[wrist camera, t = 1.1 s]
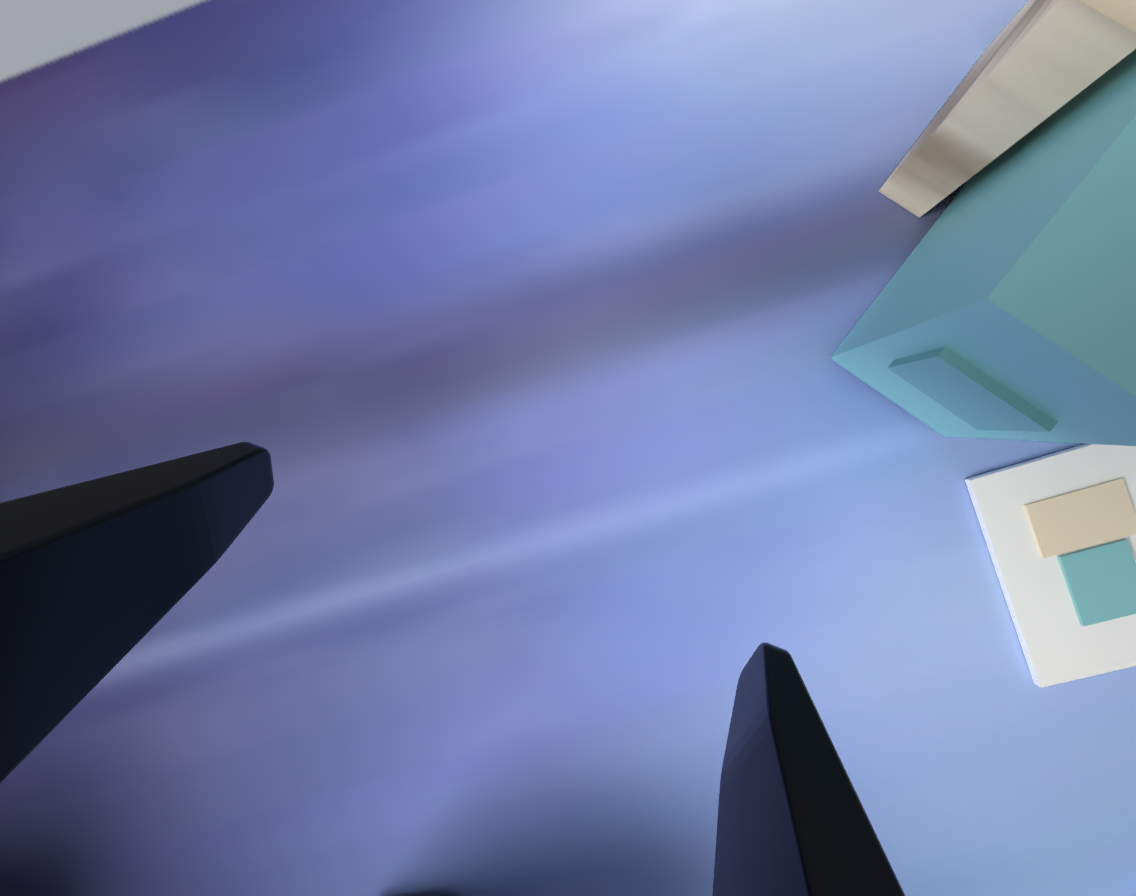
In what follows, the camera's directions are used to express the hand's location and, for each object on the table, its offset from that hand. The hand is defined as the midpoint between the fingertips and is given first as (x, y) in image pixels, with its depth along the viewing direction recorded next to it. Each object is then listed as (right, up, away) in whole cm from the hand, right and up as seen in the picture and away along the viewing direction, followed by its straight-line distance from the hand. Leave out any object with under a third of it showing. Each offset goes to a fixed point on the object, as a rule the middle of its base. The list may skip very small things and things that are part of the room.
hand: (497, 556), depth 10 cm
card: (+20, -2, +11) cm, 23 cm away
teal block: (+15, +7, +11) cm, 20 cm away
